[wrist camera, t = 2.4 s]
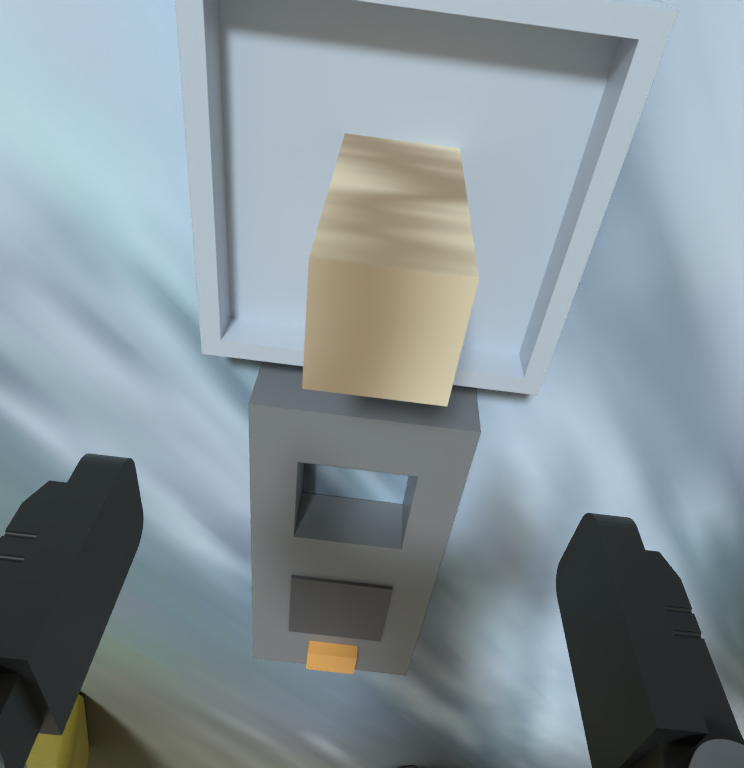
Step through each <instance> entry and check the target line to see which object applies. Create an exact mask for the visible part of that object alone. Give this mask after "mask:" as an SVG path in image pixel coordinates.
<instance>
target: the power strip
mask: <svg viewBox="0 0 744 768" xmlns="http://www.w3.org/2000/svg"><path fill="white" fill-rule="evenodd" d="M302 380H303V367H302V366H294V365H286V364H278V363H270V362H262V364H261V367H260V370H259V373H258V377H257V380H256V383H255V386H254V389H253V392H252V395H251V398H250V401H249V451H250V504H251V557H252V611H253V658H256V659H265V660H274V661H283V662H292V663H301V664H307V665H306V669H311V670H320V671H329V672H338V673H347V674H354V670H363V671H372V672H381V673H390V674H398V675H407V672H408V669H409V666H410V663H411V659H412V656H413V653H414V650H415V646H416V643H417V640H418V636H419V633H420V630H421V627H422V623H423V620H424V617H425V613H426V610H427V607H428V604H429V600H430V597H431V594H432V591H433V587H434V584H435V581H436V577H437V574H438V571H439V568H440V564H441V561H442V558H443V555H444V551H445V548H446V545H447V541H448V538H449V535H450V532H451V528H452V525H453V522H454V519H455V515H456V512H457V509H458V505H459V502H460V499H461V496H462V492H463V489H464V486H465V482H466V479H467V476H468V473H469V469H470V466H471V463H472V460H473V456H474V453H475V450H476V446H477V443H478V440H479V437H480V433H481V430H480V420H479V411H478V402H477V393H476V388H471V387H463V386H455V385H453V386H452V390H451V394H450V398H449V402H448V406H439V405H430V404H422V403H414V402H406V401H398V400H390V399H382V398H374V397H365V396H357V395H349V394H341V393H333V392H325V391H317V390H309V389H302ZM304 463H310V464H318V465H327V466H335V467H343V468H352V469H360V470H368V471H376V472H385V473H393V474H401V475H409V478H408V482H407V487H406V491H405V496H404V501H403V504H395V503H386V502H378V501H370V500H361V499H353V498H344V497H336V496H328V495H319V494H311V493H302V486H303V469H304Z"/></svg>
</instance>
